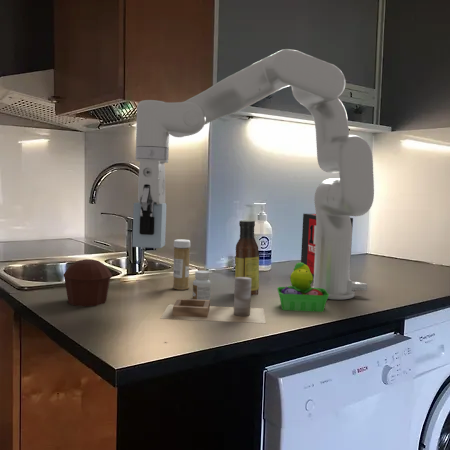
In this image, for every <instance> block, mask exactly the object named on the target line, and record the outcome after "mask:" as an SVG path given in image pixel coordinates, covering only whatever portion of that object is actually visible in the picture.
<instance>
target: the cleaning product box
mask: <svg viewBox="0 0 450 450" xmlns="http://www.w3.org/2000/svg"><path fill="white" fill-rule="evenodd" d="M350 220H351V224H352V229H353V228H354V227H353V225H354V224H353V223H354V217H350ZM301 231H302V235H301V254H300V256H301V257H300V262H302V263H304V264H305V265H307V266H308V267H309V269H310V272H311V274H312V276H313V280H314V262H315V243H316V213H303V215H302V230H301ZM352 243H353V242H352ZM352 243H351V246H353V245H352ZM351 261H352V259H351V260H350V263H352V262H351ZM349 278H350V279H351V277H349Z"/></svg>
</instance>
